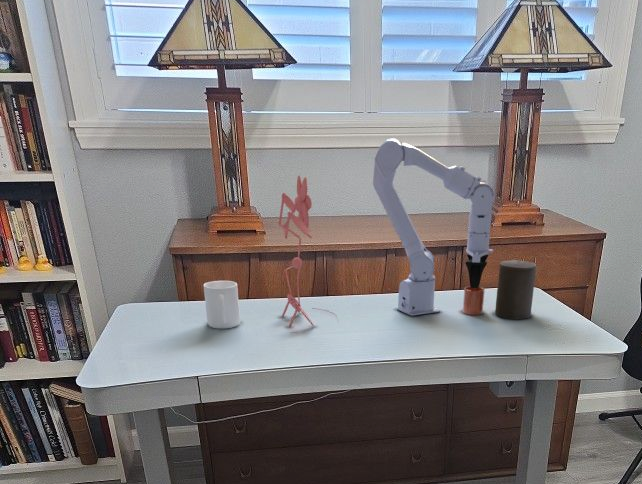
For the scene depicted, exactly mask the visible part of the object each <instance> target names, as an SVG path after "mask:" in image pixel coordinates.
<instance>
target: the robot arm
mask: <svg viewBox="0 0 642 484" xmlns="http://www.w3.org/2000/svg"><path fill="white" fill-rule="evenodd" d="M402 162H403V167H408V166H416V167H418V168H420V169H422V170H423V171H426V173H430V174H431V175H433V176H435V177H437V178H438V179H440V180H441V181H442V182H443V187H444V188H445V189H447V190H449V191H450V192H451V193H454V194H455V195H457V196H459V197H461V198H462V199H464V200H470V201H471V202H470V212H469V214H468V227H467V228H468V229H467V240H466V241H467V244H466V249H465V253H466V254H467V255H466V256H467V259H465V263H464V264H465V266H466V268H467V272H468V280H469V286H470V287H471V288H478V287H480V284H481V280H482V276H483V272H484V271H485V268H486V266H487V265H488V262H487V259H488V258H489V254H493V253H494V249H492V248H490V237H491V227H492V226H491V225H492V210H493V207H492V206H493V205H492V204H493V203H494V201H495V193H494V190H493V188H492V186H491V185H490V184H489V183H487V181H486V180H482V177H480V176H477V177H476V176H474V175H473V174H471V173H469V172H468V171H466V168H465V167H464V166H463V165H460V166H458V165H453V166H450V167H448V166H446V165H445V164H443V163H441V162H440V161H439V160H437V159H435V158H434V157H432V156H430V155H429V154H427V153H426V152H424V151H423V150H421V149H419V148H418V147H415V146H413V145H410V144H409V143H406V142H401V141H400V140H399V139H397V138H394V137H393V138H387V139H386V140H384V141H383V142H382V143H381V144H380V146H379V148H378V149H377V152H376V154H375V157H374V167H373V178H372V185H373V189H374V190H375V192H376V195H377V196H378V198H379V200H380V202H381V204H382V206H383V209H384V210H385V212H386V214H387V216H388V218H389V221H390V222H391V224H392V226H393V228H394V230H395V232H396V234H397V236H398V238H399V241H400V242H401V244H402V247H403V248H404V251H405V254H406V257H407V259H408V261H409V265H410V266H409V267H410V269H409V270H410V273H409V274H408V278H407V279H403V280H401V281H400V282H399V285H398V303H397V304H398V305H397V307H396V310H398V311H400V312H402V313H405V314H407V315H408V316H411V317H412V316H419V315H428V314H433V313H440V311H441V310H440V309H439V308H436V307H435V291H436V290H435V288H436V276H435V274H434V272H435V257H434V254H433V253H432V252H431V251H430V250H428V249H427V247H425V244H424V243H423V241H422V240H421V238H420V236H419V235H418V232H417V230H416V227H415V226H414V223H413V222H412V220H411V217H410V216H409V213H408V212H407V210H406V207H405V205H404V204H403V200H402V199H401V197H400V195H399V193H398V191H397V189H396V187H395V185H394V183H393V182H394V180H395V179H394V178H395V175H396V172H397V169H398V168H399V166H400V165H401V163H402Z"/></svg>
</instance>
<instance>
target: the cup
mask: <svg viewBox="0 0 642 484" xmlns="http://www.w3.org/2000/svg"><path fill="white" fill-rule="evenodd" d="M203 294H204V295H203V296H204V303H205V312H206V321H207V325H208V326H209V327H210V328H213V329H223V330H224V329H231V328H235V327H237V326H239V325H240V324H241V313H240V300H239V288H238V283H237V282H235V281H232V280H212V281H208V282H205V283H203Z"/></svg>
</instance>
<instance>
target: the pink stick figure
mask: <svg viewBox="0 0 642 484" xmlns="http://www.w3.org/2000/svg"><path fill="white" fill-rule="evenodd" d="M307 179H308V178H307V177H306V176H305V177H304V178H303V179H302V178H301V175H297V180H296V194H297V196H295V198H294V200H292V199H291V198H290V197H289V196H288V195H287V194H286V193H285V192H282V194H281V205H280V210H279V218H278V227H279V228H280V227H281V228H282V229H283V234H284V238H285V239H288V235H289V233H290V234H292V235H293V236H294V237H296V238H297V239H298V250H297V257H294V258H293V259H292V260H291V266H288V267H287V268H285V269H284V272H285V273H284V274H285V276H286V281H287V286H288V291H289V293H288V294H287V295H286V298H287V303H286V305H285V307H284V310H283V312H282V314H281V317H282V318H284V317H285V315H286V312H287V310H288V308H289V306H290V305H291V307H292V308H293V309H294V310H295V311H294V312H293V315H292V317H291V319H290V322H289V324H288V327H289V328H291V327H292V325H293V322H294V320H295V318H296V315H297V314H298V313H301V314H302V315H303V316H304V317H305V318H306V320H307V321H308V322H309V323H310V325H311V326H313V327H314V326H315V325H314V323H313V322H312V320H311V319H310V317H309V316H308V315H307V313H306V312H305V310H303V308H302V305H301V301H300V300H301V299H300V298H301V297H300V284H299V276H300V271H301V268H302V266H303V260H302V259H301V258H300V254H301V245H302V238H301V236H300V235H299V234H297V233H295V232H294V231H293V230H291V229H290V228H289V227H290V220H291V221H292V223H293V224H294V225H295V226H296V227H297V228H298V230H300V232H301V233H303V234H304V235H305V236H306V237H308V238H310V239H312V238H313V237H312V234H311V231H310V230H309V225H310V216H309V215H310V214H309V211H310V209H312V206H313V205H312V204H313V203H312V199H311V197H310V195H309V194H308V180H307ZM284 205H285V207H286V208H287V209H289V210H290V211H287V219H286V221H285V223H284V224H282V218H283V211H284ZM296 212H297V213H298V216H297V215H295V213H296ZM292 268H294V269H296V270H297V274H296V286H297V296H298V297H297V299H296V297H295V296H294V295H293V294H292V289H291V285H290V280H289V276H288V271H289V270H291V269H292ZM311 309H312V310H317V308H315V307H311ZM318 310H319V311H324V312H327V313H331V314H333V315H334V316H336V314H335V313H334V312H331V311H330V310H328V309H321V308H318ZM338 322H339V320H337V323H338ZM293 333H294V334H298V331H290V334H293Z"/></svg>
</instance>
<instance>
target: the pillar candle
mask: <svg viewBox="0 0 642 484" xmlns="http://www.w3.org/2000/svg"><path fill="white" fill-rule="evenodd" d="M536 273H537V264H536V263H534V262H531V261H526V260H519V258H517V259H512V260H511V259H510V260H503V261H500V263H499V270H498V279H497V289H496V299H495V310H494V314H495V315H496V316H497V317H499V318H503V319H505V320H525V319H528V318H530V317H531V315H532V305H533V297H534V290H535V281H536Z"/></svg>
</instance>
